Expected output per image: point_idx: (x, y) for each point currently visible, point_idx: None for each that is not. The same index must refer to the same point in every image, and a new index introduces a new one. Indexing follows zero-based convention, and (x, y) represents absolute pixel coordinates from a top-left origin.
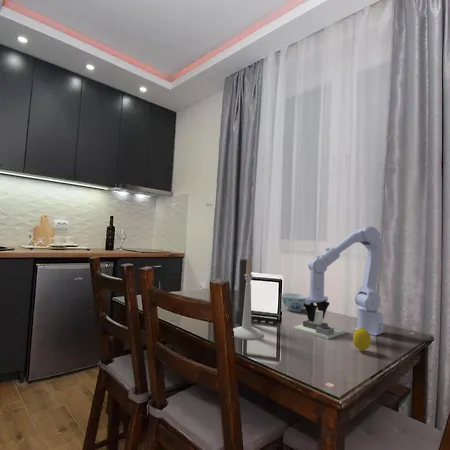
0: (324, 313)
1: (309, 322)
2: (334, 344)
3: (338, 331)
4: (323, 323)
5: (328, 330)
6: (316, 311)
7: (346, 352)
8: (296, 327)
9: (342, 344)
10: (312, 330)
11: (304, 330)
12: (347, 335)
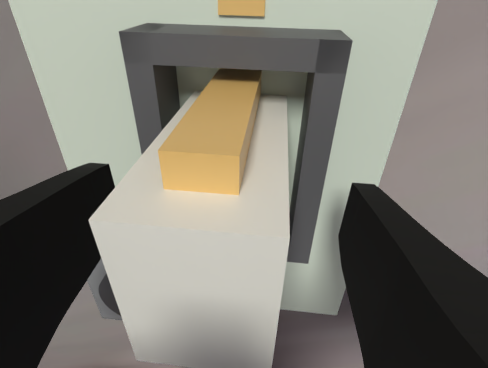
0: (360, 321)
1: (181, 112)
2: (83, 314)
3: (286, 298)
4: (291, 230)
5: (114, 318)
6: (132, 334)
7: (55, 356)
8: (22, 2)
9: (122, 332)
10: (118, 177)
11: (54, 122)
12: (303, 317)
